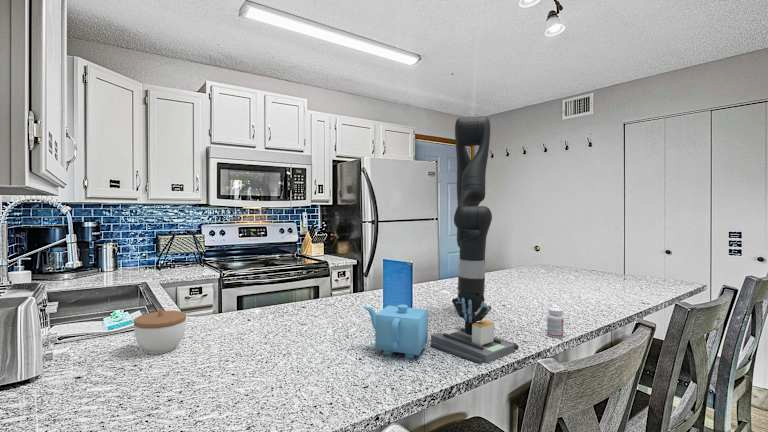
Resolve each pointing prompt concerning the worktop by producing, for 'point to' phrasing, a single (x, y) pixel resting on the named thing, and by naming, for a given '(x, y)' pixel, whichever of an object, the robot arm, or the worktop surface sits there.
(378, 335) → the teapot
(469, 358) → the cord
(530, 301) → the worktop surface
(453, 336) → the panel
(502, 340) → the dark grey rod
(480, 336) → the grey orange rectangular block
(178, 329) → the lidded bowl
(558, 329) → the pill bottle
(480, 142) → the robot arm
